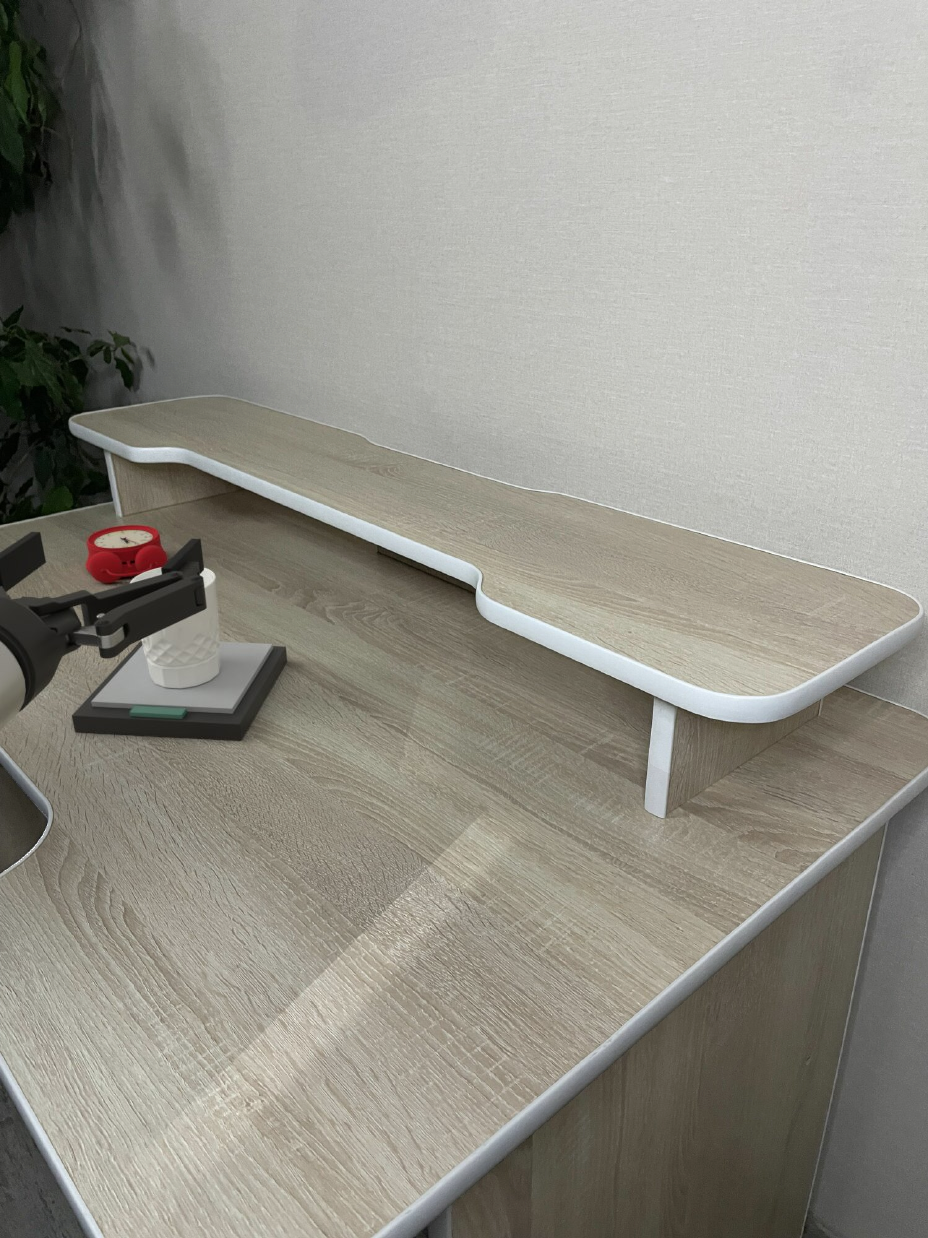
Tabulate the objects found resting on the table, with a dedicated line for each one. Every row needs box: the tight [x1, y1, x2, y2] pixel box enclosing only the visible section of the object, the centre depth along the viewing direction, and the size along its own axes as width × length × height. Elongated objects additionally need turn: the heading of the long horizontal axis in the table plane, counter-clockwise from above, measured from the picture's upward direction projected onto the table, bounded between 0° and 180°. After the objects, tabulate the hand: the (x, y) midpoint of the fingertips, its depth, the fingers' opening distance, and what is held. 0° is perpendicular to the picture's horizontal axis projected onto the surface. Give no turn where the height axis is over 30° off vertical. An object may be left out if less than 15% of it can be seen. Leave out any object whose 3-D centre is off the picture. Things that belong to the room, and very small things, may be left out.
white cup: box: [129, 567, 221, 688], centre depth 91 cm, size 8×8×10 cm
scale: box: [71, 640, 288, 742], centre depth 93 cm, size 16×16×2 cm
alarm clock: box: [85, 524, 169, 584], centre depth 124 cm, size 10×6×15 cm
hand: (118, 550), depth 77 cm, fingers open, 13 cm apart
